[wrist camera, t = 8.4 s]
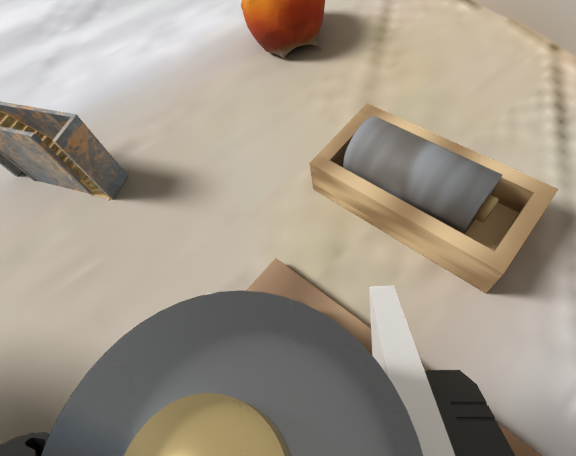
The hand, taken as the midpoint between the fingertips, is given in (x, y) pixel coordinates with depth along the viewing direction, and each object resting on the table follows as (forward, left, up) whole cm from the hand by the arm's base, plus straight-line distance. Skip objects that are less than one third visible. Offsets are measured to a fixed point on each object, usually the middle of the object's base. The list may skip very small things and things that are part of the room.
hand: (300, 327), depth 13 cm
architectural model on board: (-28, -1, -13) cm, 31 cm away
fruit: (-23, +24, -12) cm, 36 cm away
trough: (-2, +14, -12) cm, 18 cm away
